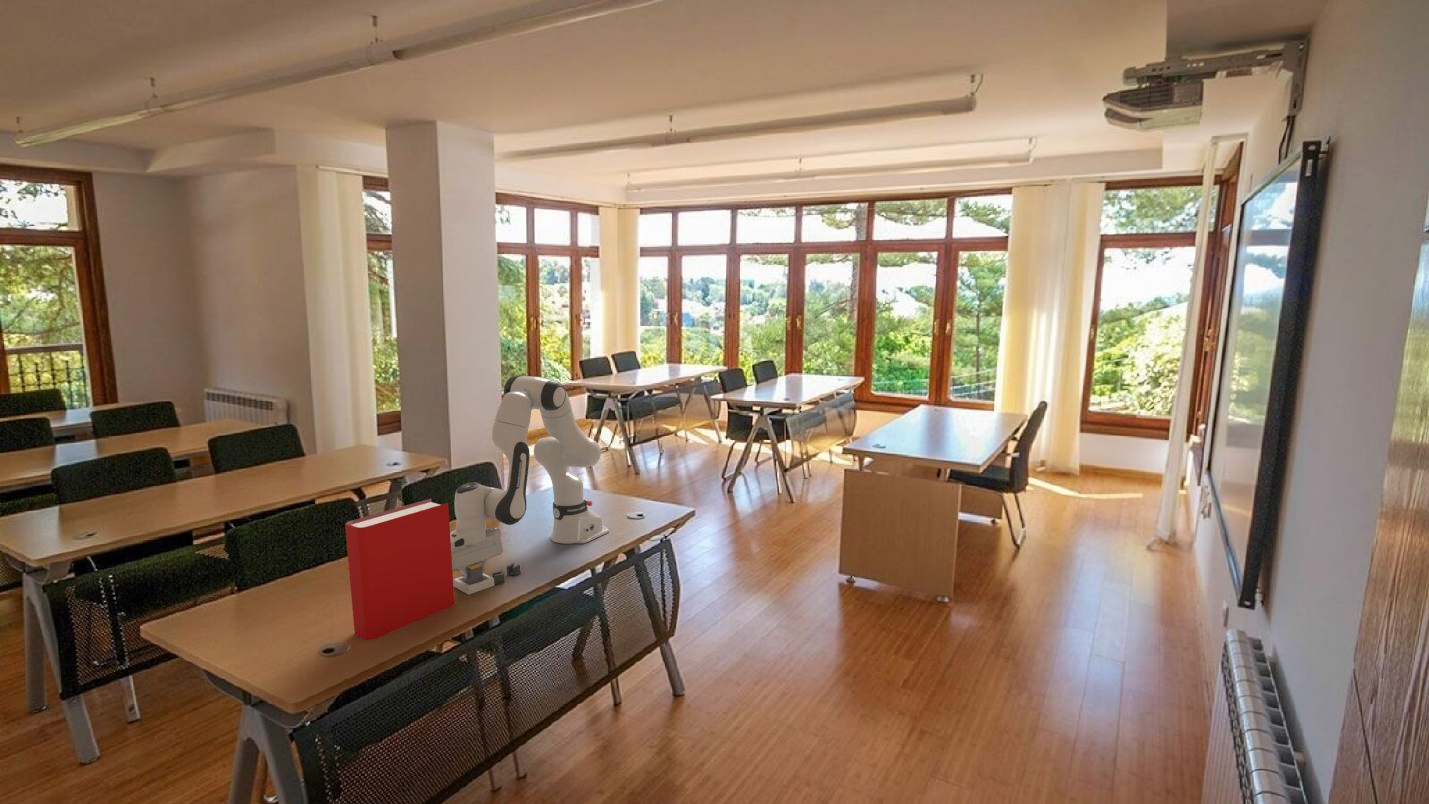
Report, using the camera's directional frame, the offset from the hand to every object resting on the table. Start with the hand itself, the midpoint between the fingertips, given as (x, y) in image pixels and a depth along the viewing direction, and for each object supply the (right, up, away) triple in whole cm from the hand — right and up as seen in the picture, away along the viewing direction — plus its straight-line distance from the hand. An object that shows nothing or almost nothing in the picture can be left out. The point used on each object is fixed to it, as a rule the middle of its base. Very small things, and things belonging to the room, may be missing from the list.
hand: (473, 575), depth 229 cm
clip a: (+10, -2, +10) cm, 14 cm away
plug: (0, -2, 0) cm, 2 cm away
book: (-12, -7, -22) cm, 26 cm away
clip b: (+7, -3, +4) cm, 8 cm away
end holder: (0, -4, +1) cm, 4 cm away
